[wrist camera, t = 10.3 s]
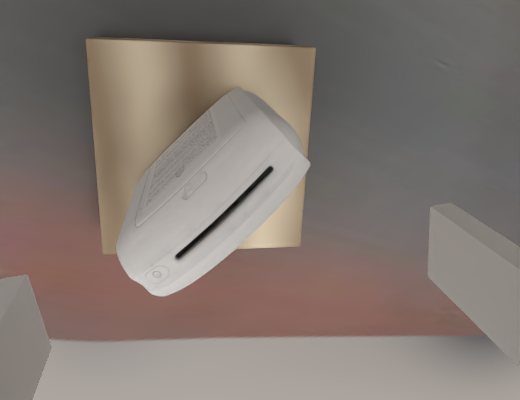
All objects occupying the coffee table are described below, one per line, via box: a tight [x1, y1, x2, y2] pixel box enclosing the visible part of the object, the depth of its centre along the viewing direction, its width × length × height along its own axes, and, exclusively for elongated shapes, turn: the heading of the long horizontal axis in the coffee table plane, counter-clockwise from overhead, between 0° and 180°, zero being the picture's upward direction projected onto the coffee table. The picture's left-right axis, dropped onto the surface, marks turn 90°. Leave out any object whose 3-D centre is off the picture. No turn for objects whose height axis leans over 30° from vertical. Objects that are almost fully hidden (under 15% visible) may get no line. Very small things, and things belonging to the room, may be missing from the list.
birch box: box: [86, 37, 316, 254], centre depth 34 cm, size 14×14×6 cm
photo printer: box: [116, 87, 311, 296], centre depth 25 cm, size 10×4×12 cm, turn 132°
